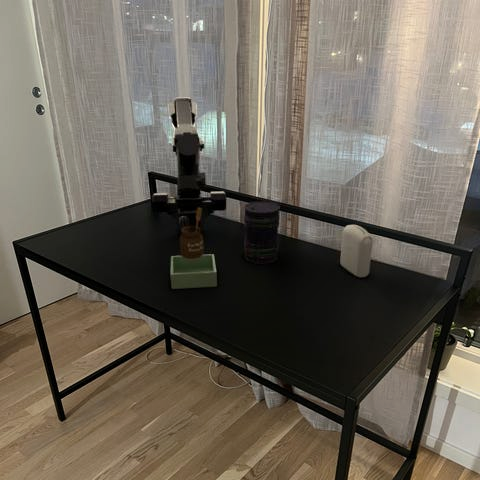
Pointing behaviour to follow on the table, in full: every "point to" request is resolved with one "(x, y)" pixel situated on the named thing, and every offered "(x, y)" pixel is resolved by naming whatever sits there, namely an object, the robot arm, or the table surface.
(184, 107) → the robot arm
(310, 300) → the table surface
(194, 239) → the utensil holder
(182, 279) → the tray
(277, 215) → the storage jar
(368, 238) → the photo printer
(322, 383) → the table surface
